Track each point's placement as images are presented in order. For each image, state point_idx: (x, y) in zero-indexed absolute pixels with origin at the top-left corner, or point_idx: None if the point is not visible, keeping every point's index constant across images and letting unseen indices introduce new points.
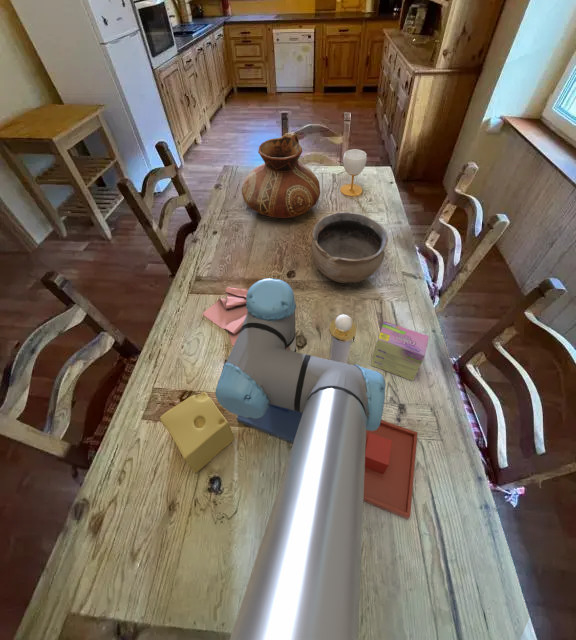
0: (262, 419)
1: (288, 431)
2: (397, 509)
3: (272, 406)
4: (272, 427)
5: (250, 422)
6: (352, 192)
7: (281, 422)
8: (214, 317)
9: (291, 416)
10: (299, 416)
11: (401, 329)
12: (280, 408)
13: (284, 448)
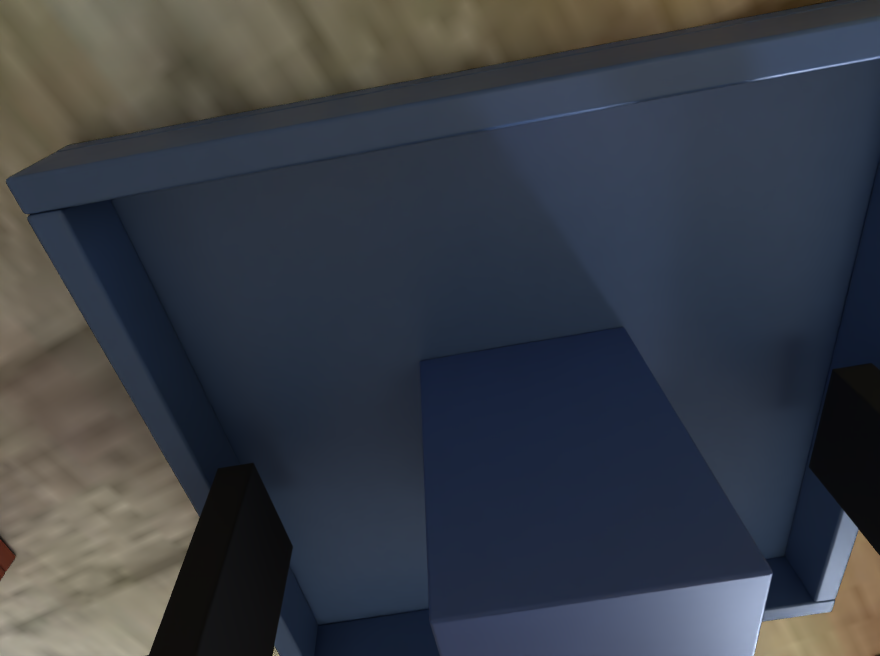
0: (638, 171)
1: (298, 210)
2: None
3: (588, 333)
4: (486, 154)
5: (805, 50)
6: None
7: (421, 250)
8: None
9: (361, 346)
10: (294, 380)
11: None
12: (500, 363)
13: (227, 13)
